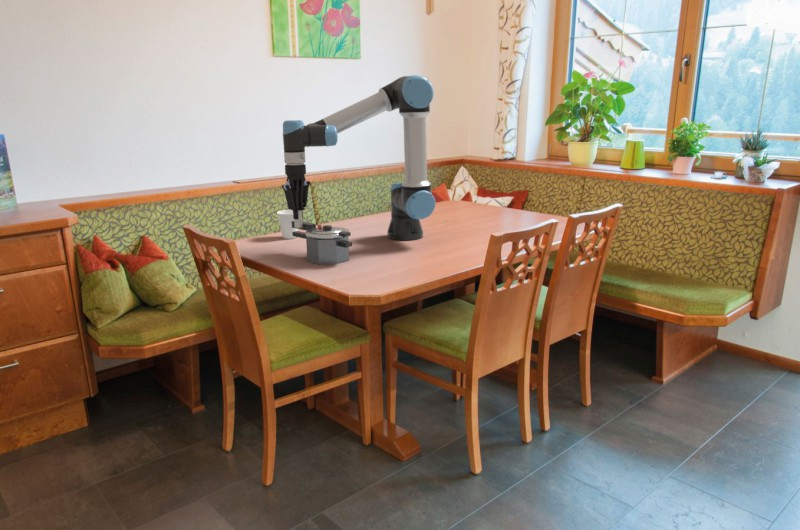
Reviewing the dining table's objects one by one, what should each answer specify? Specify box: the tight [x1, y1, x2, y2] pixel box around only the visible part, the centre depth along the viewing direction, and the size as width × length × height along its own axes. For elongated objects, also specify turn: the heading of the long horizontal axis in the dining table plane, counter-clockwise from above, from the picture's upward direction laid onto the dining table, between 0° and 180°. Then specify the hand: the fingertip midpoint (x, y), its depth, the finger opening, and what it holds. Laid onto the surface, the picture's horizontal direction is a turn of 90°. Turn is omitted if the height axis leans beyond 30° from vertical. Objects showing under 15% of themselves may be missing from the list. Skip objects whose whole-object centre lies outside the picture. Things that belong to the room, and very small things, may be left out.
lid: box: [291, 220, 351, 239], centre depth 222 cm, size 29×16×3 cm, turn 48°
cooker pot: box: [292, 230, 353, 266], centre depth 223 cm, size 29×15×9 cm, turn 50°
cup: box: [276, 209, 299, 240], centre depth 255 cm, size 10×10×11 cm
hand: (298, 227), depth 226 cm, fingers closed
